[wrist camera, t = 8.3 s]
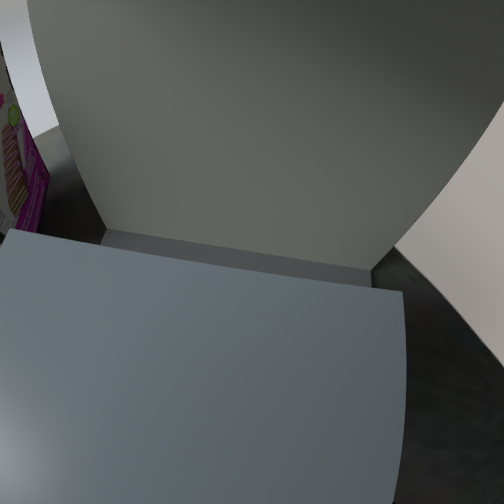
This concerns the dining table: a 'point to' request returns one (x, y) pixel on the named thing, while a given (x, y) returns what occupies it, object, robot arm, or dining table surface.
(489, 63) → the white open shelf
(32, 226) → the candy bar box
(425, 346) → the dining table surface
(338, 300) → the tall gray box
